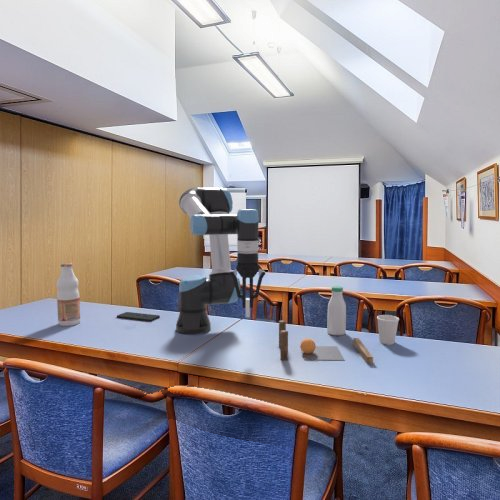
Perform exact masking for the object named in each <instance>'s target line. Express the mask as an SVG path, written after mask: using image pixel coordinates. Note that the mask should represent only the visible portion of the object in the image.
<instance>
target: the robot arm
mask: <svg viewBox="0 0 500 500" xmlns="http://www.w3.org/2000/svg"><path fill="white" fill-rule="evenodd" d="M232 197H233V196H232V195H231V192H230V190H229V189H228V188H225V187H224V188H223V187H199V186H198V187H192V188H188V189H187V190H185V191H184V192H183V193H182V194H180V197H179V200H178V205H179V208H180V209H181V211H182V213H184V214H187V216H188V217H189V220H190V222H189V225H190V226H189V227H190V228H189V229H190V232H191V234H193V235H194V236H195V235H197V236H209V247H210V258H211V259H210V260H211V261H210V262H211V272H210V273H209V274H208V276H209V278H207V276H206V275H205V274H200V275H198V274H196V275H190V276H186V277H184V278H182V279H181V280H180V281H179V289H178V292H179V314H178V318H177V320H176V323H175V325H176V326H175V331H176V332H178V333H180V334H184V335H196V334H197V335H198V334H203V333H206V332H208V331H209V332H210V330H211V324H212V323H211V321H210V317H209V315H208V312H207V307H208V306H209V305H210V306H211V305H220V304H221V305H222V304H227V305H228V304H233V303H236V301H238V299H241V300H242V305H241V306H242V308H243V309H245V318H250V316H251V309H252V308H253V306H254V299H256V298H258V296H259V294H260V289H261V285H262V282H263V279H264V277H265V275H266V271H265V270H262V269H261V268H260V266H259V253H258V252H259V220H260V218H259V210H257V209H256V208H254V209H252V208H250V209H247V208H245V209H244V208H243V209H238V210H237V213H234V214H232V213H231V212H232V211H233V204H234V202H233V198H232ZM230 213H231V214H230ZM229 235H237V237H236V238H237V241H236V244H237V248H236V249H237V252H238V253H237V255H236V257H237V265H236V267H235V269H233V270H232V267H231V266H232V265H231V264H232V263H231V255H230V245H229ZM238 274H239V276H240V277H241V278H242V279H241V281H242V285H241V281H240V277H239V276H237V275H238ZM257 274H258V279H257V284H256V288H255V291H254V278H255V277H256V275H257ZM247 279H249V297H247ZM241 287H242V293H241Z"/></svg>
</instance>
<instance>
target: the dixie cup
mask: <svg viewBox="0 0 500 500" xmlns="http://www.w3.org/2000/svg"><path fill="white" fill-rule="evenodd" d="M376 319H377V328H378V329H377V330H378V340H379V343H380V344H383V345H389V346H390V345H391V346H392V345H394V344H395V342H396V337H397V331H398V325H399V321H400V318H399V317H397V316H395V315H391V314H381V315H377V316H376Z"/></svg>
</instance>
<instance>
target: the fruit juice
mask: <svg viewBox="0 0 500 500" xmlns="http://www.w3.org/2000/svg"><path fill="white" fill-rule="evenodd" d="M73 265H74V264H73V263H72V262H67V263H66V262H65V263H61V264H60V267H61V271H60V274H59V277H58V279H57V280H56V287H57V292H56V301H57V302H56V303H57V322H58V325H59V326H61V327H69V326H77V325H79V324H80V323H81V303H80V299H81V298H80V291H79V288H78V287H79V279H78V278H77V276H76V275H75V273H74V270H73V267H74V266H73Z"/></svg>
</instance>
